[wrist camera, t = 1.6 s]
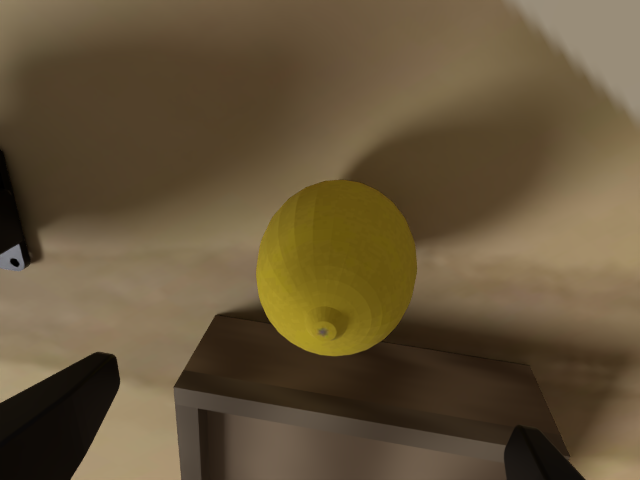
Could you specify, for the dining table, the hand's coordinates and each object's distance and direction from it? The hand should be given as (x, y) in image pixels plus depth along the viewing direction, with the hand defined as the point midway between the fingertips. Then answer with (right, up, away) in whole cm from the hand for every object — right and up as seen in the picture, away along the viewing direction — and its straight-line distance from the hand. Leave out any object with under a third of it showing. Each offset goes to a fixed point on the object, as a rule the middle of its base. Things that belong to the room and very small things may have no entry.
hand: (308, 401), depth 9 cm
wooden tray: (+2, -7, +15) cm, 16 cm away
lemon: (+1, +5, +9) cm, 11 cm away
